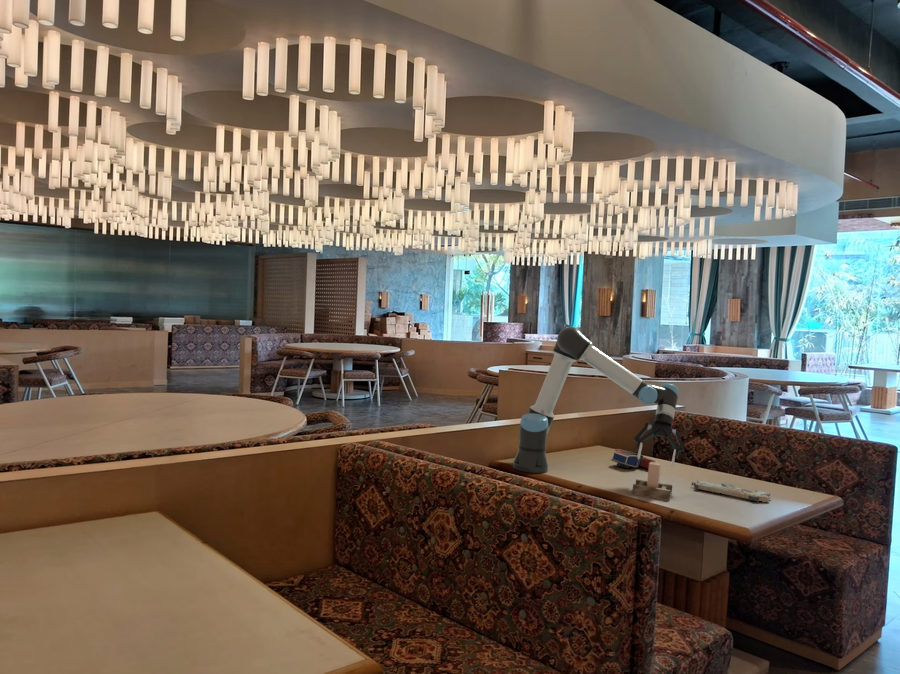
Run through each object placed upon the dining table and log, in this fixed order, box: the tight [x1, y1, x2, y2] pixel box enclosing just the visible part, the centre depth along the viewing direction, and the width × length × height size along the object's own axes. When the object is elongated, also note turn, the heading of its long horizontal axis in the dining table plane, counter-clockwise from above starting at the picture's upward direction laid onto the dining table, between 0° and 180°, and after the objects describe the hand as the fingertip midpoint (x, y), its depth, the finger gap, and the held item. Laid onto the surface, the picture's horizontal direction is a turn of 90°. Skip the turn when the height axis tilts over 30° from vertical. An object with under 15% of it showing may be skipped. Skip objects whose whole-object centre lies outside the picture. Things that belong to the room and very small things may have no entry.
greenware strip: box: [646, 461, 662, 488], centre depth 267 cm, size 4×5×11 cm
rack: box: [631, 479, 673, 501], centre depth 267 cm, size 14×12×4 cm
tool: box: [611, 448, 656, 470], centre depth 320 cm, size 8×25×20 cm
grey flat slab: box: [691, 480, 771, 503], centre depth 280 cm, size 30×3×20 cm
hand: (655, 461), depth 278 cm, fingers open, 13 cm apart
